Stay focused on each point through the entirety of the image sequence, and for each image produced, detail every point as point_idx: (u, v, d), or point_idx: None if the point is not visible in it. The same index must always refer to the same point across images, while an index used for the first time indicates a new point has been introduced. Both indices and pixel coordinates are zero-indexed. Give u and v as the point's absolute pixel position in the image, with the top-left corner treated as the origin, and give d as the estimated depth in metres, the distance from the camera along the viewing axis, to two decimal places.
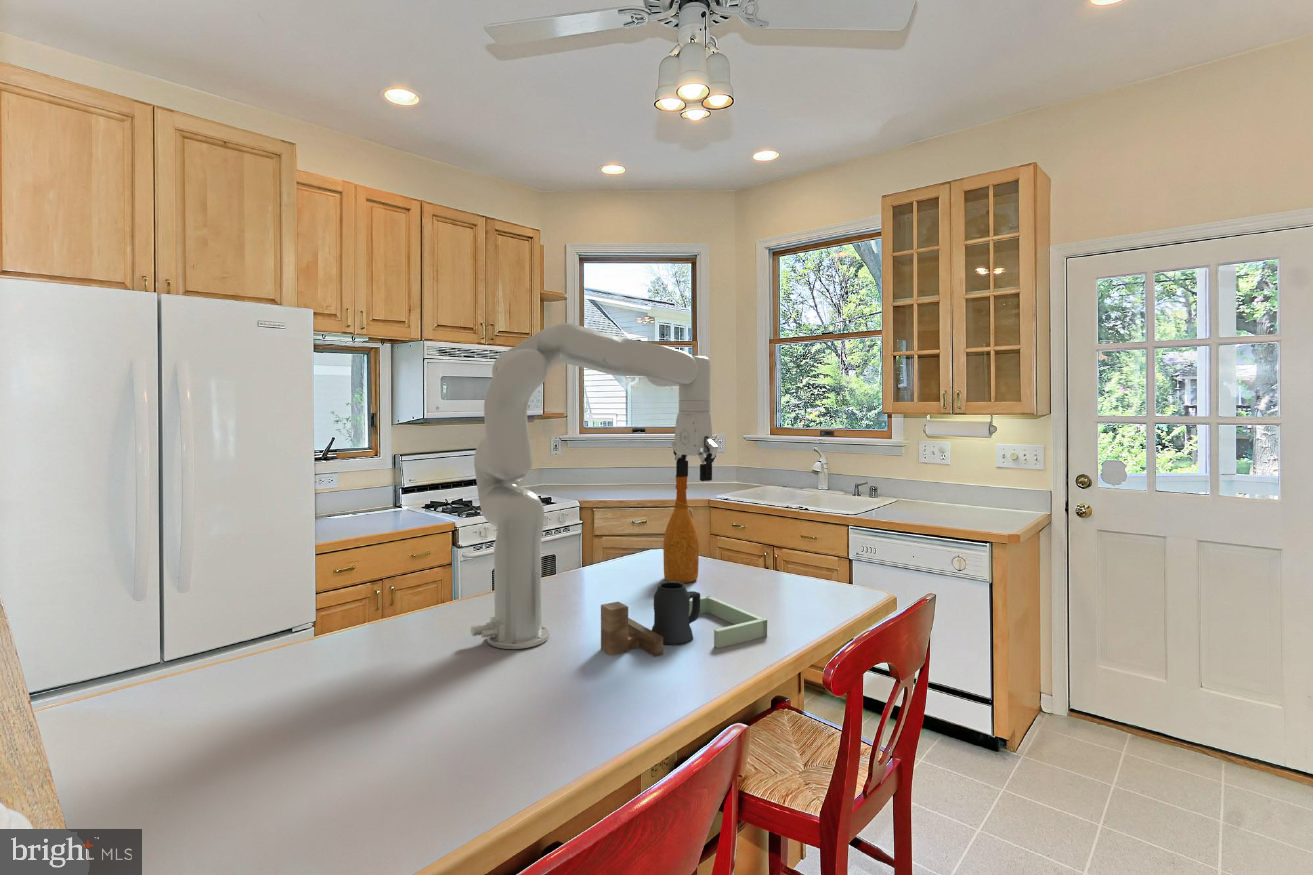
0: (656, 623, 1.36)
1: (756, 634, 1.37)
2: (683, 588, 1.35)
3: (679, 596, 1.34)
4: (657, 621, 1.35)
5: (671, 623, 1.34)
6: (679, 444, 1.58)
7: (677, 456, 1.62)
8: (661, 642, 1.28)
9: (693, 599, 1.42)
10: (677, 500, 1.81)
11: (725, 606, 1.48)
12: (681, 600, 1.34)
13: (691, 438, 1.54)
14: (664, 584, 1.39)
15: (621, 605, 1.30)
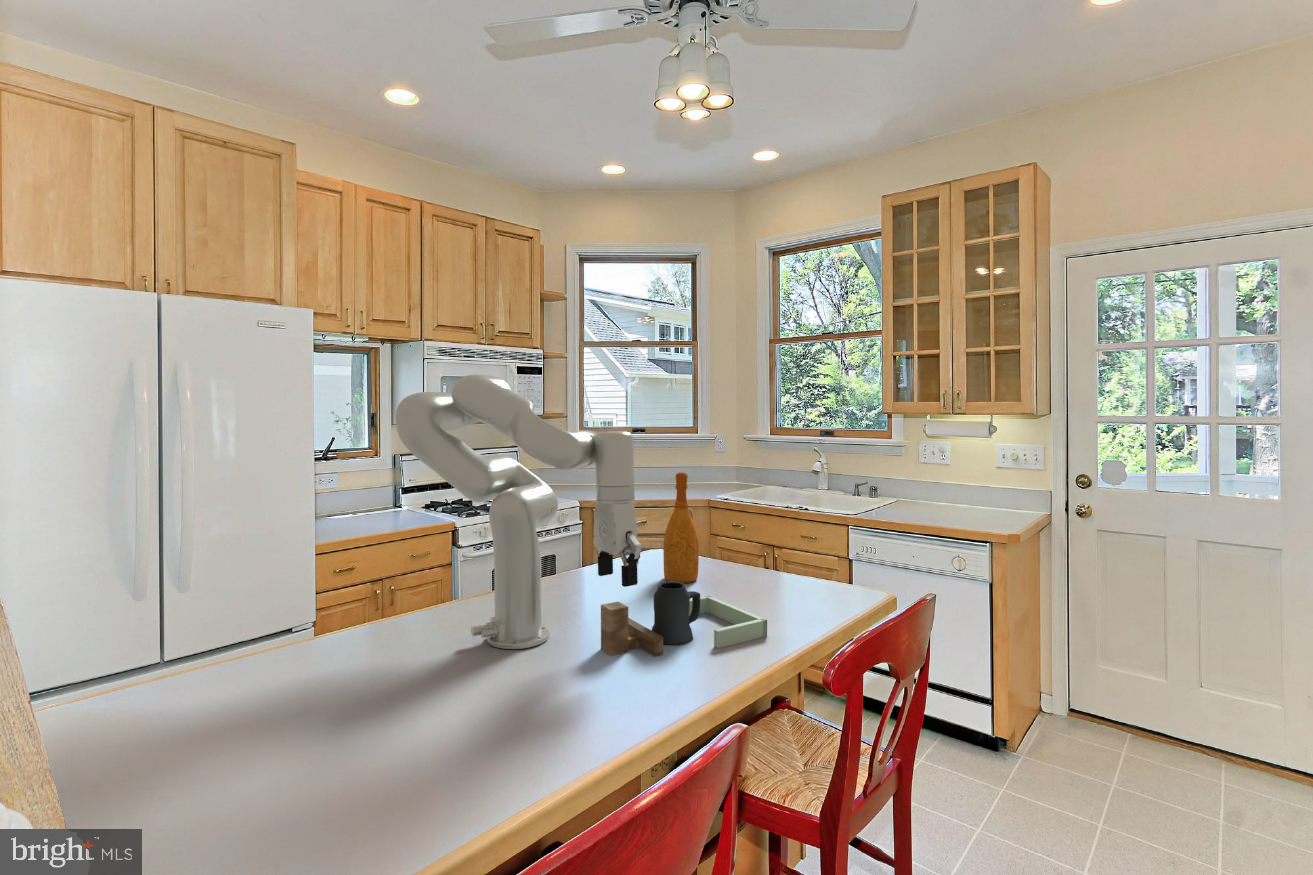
0: (656, 623, 1.36)
1: (756, 634, 1.37)
2: (683, 588, 1.35)
3: (679, 596, 1.34)
4: (657, 621, 1.35)
5: (671, 623, 1.34)
6: (598, 538, 1.29)
7: (598, 550, 1.33)
8: (661, 642, 1.28)
9: (693, 599, 1.42)
10: (677, 500, 1.81)
11: (725, 606, 1.48)
12: (681, 600, 1.34)
13: (610, 533, 1.25)
14: (664, 584, 1.39)
15: (621, 605, 1.30)
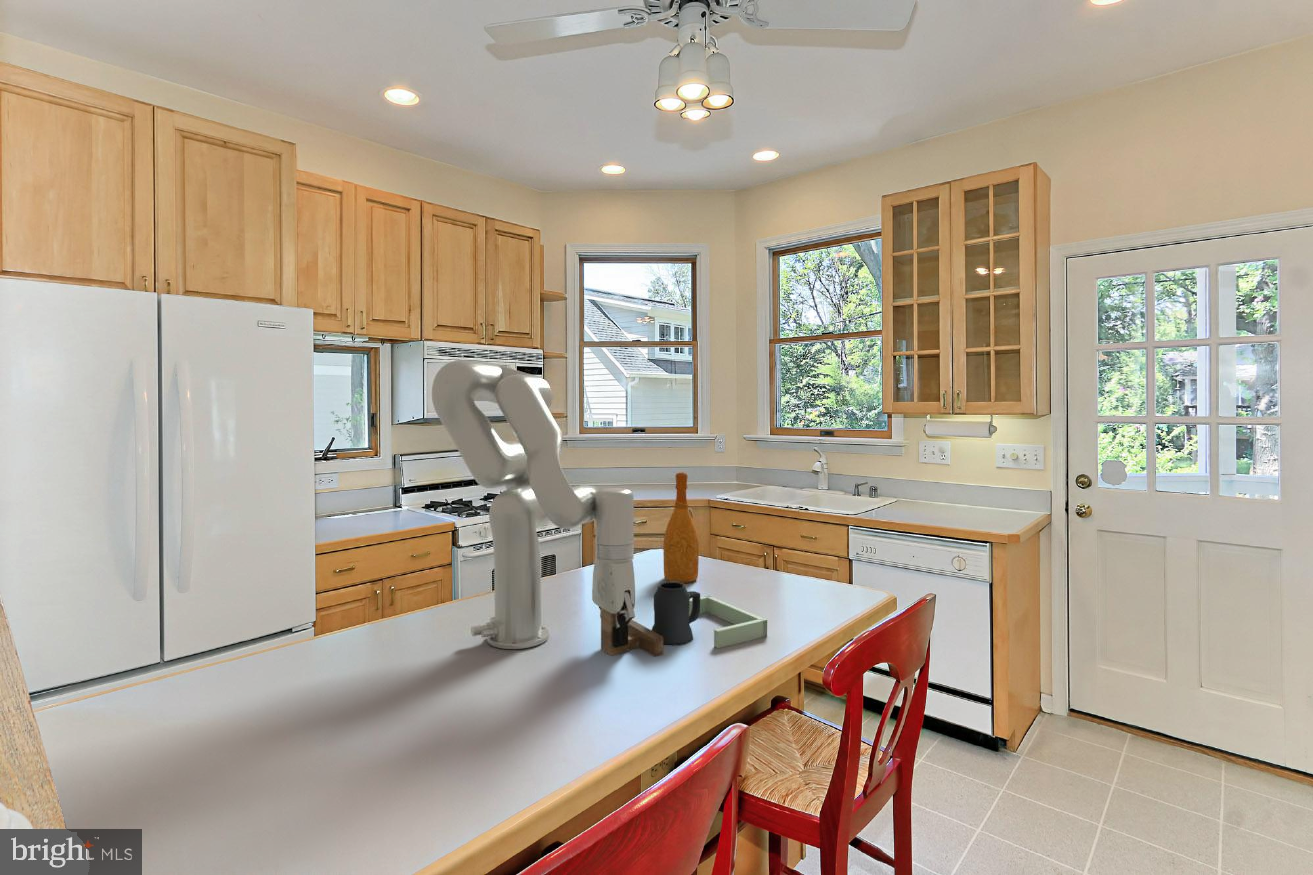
0: (656, 623, 1.36)
1: (756, 634, 1.37)
2: (683, 588, 1.35)
3: (679, 596, 1.34)
4: (657, 621, 1.35)
5: (671, 623, 1.34)
6: (597, 594, 1.30)
7: None
8: (661, 642, 1.28)
9: (693, 599, 1.42)
10: (677, 500, 1.81)
11: (725, 606, 1.48)
12: (681, 600, 1.34)
13: (609, 592, 1.26)
14: (664, 584, 1.39)
15: None
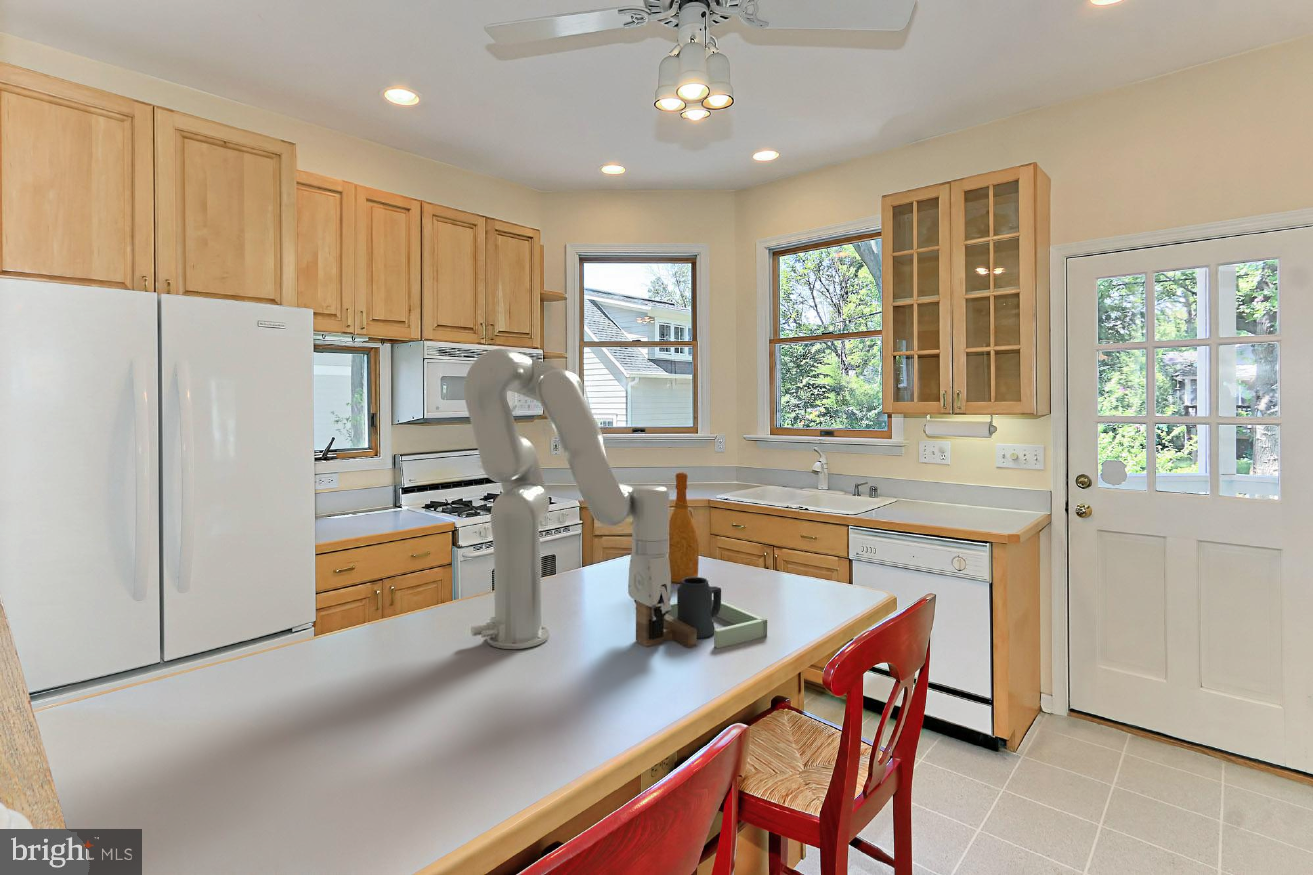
0: (680, 617, 1.39)
1: (756, 634, 1.37)
2: (706, 583, 1.39)
3: (703, 591, 1.37)
4: (681, 616, 1.39)
5: (695, 617, 1.37)
6: (633, 588, 1.35)
7: None
8: (695, 634, 1.32)
9: (714, 594, 1.45)
10: (677, 500, 1.81)
11: (725, 606, 1.48)
12: (705, 595, 1.37)
13: (645, 586, 1.30)
14: (687, 579, 1.42)
15: None
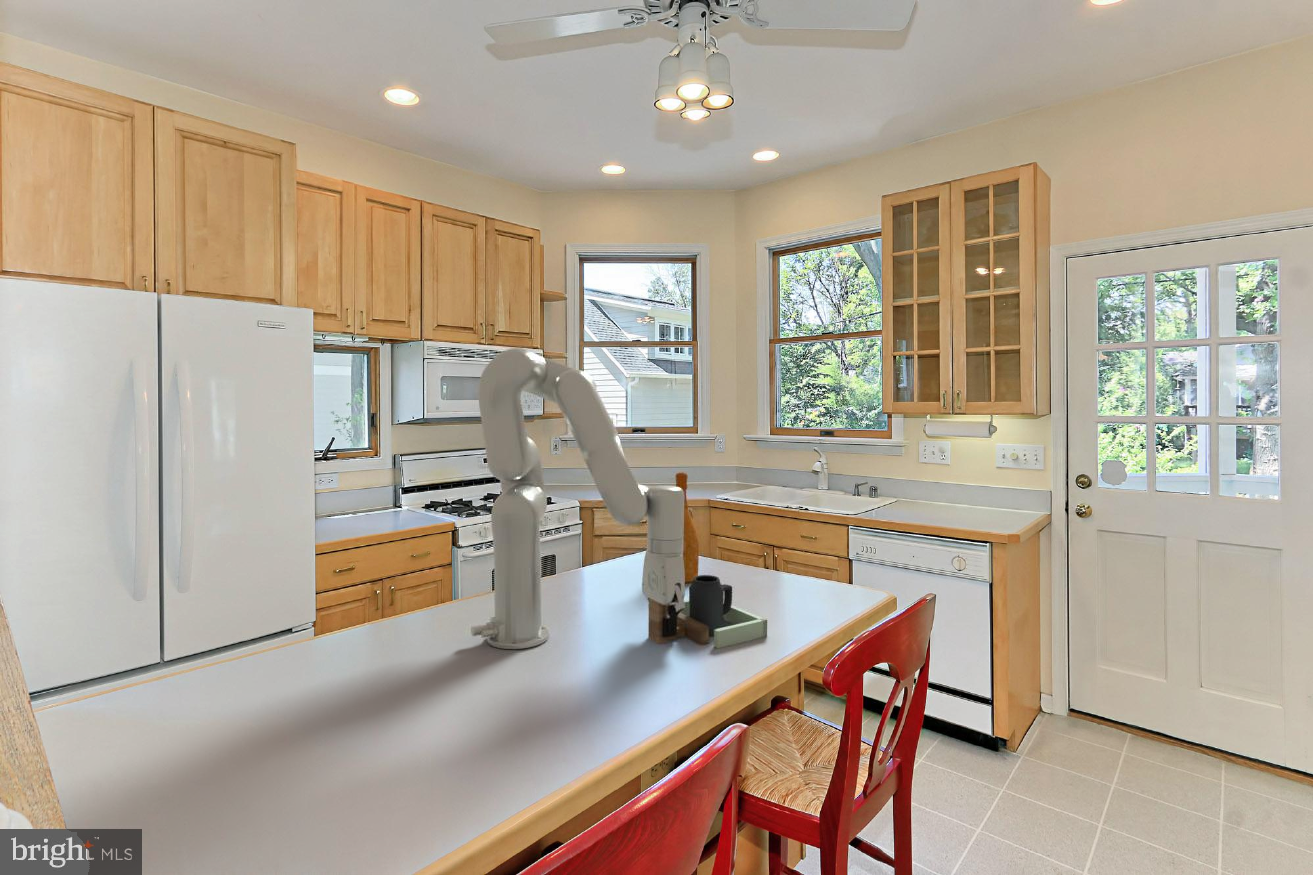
0: (692, 615, 1.41)
1: (756, 634, 1.37)
2: (718, 581, 1.41)
3: (715, 589, 1.39)
4: (693, 613, 1.40)
5: (707, 615, 1.39)
6: (647, 586, 1.36)
7: None
8: (707, 631, 1.34)
9: (725, 592, 1.47)
10: None
11: None
12: (717, 593, 1.39)
13: (660, 584, 1.32)
14: (698, 578, 1.44)
15: None
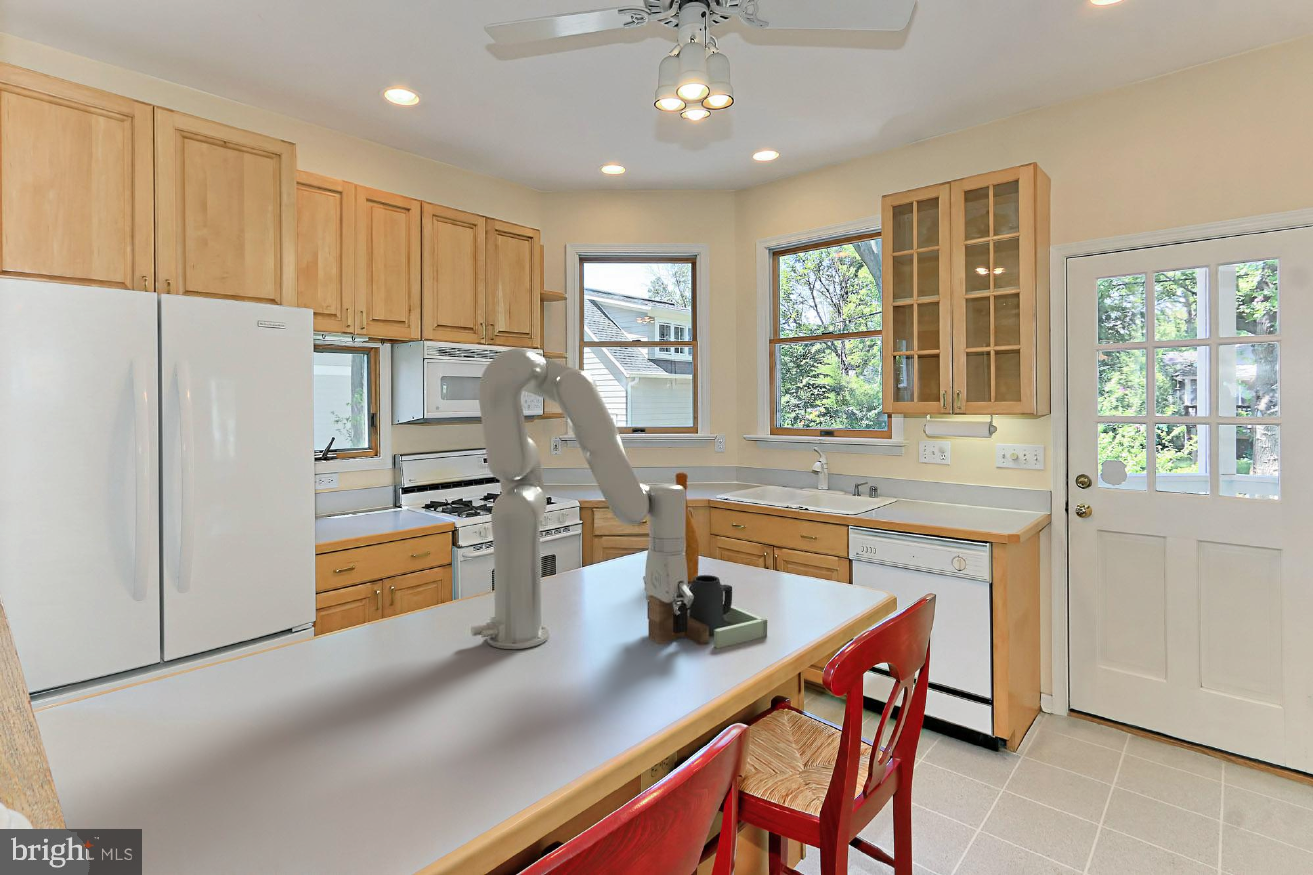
0: (692, 615, 1.41)
1: (756, 634, 1.37)
2: (718, 581, 1.41)
3: (714, 589, 1.39)
4: (693, 613, 1.40)
5: (707, 615, 1.39)
6: (650, 585, 1.37)
7: (648, 596, 1.40)
8: (707, 631, 1.34)
9: (725, 592, 1.47)
10: None
11: None
12: (716, 593, 1.39)
13: (663, 583, 1.33)
14: (698, 578, 1.44)
15: None
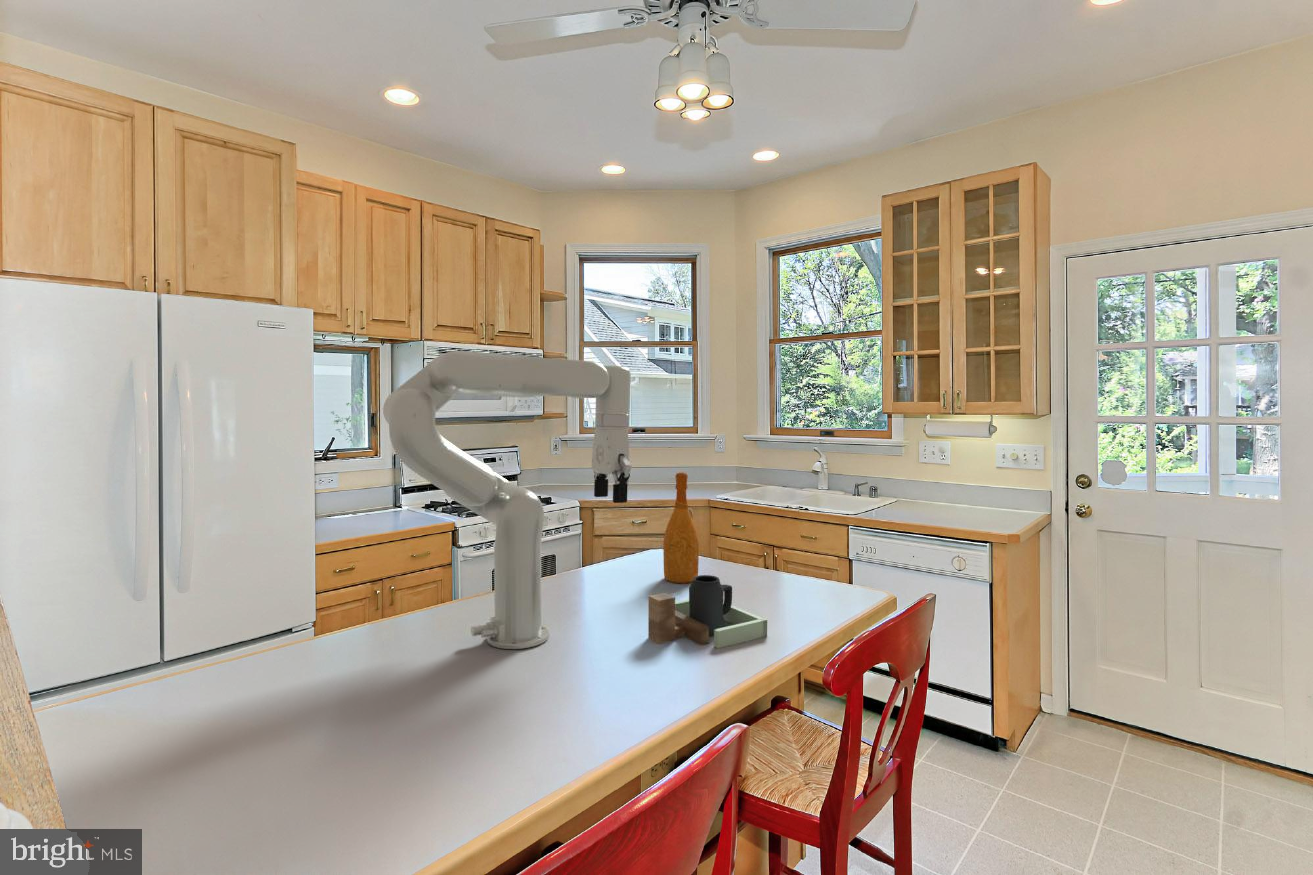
0: (692, 615, 1.41)
1: (756, 634, 1.37)
2: (718, 581, 1.41)
3: (714, 589, 1.39)
4: (693, 613, 1.40)
5: (707, 615, 1.39)
6: (595, 461, 1.45)
7: (595, 474, 1.48)
8: (707, 631, 1.34)
9: (725, 592, 1.47)
10: (677, 500, 1.81)
11: None
12: (716, 593, 1.39)
13: (605, 455, 1.41)
14: (698, 578, 1.44)
15: (668, 596, 1.36)
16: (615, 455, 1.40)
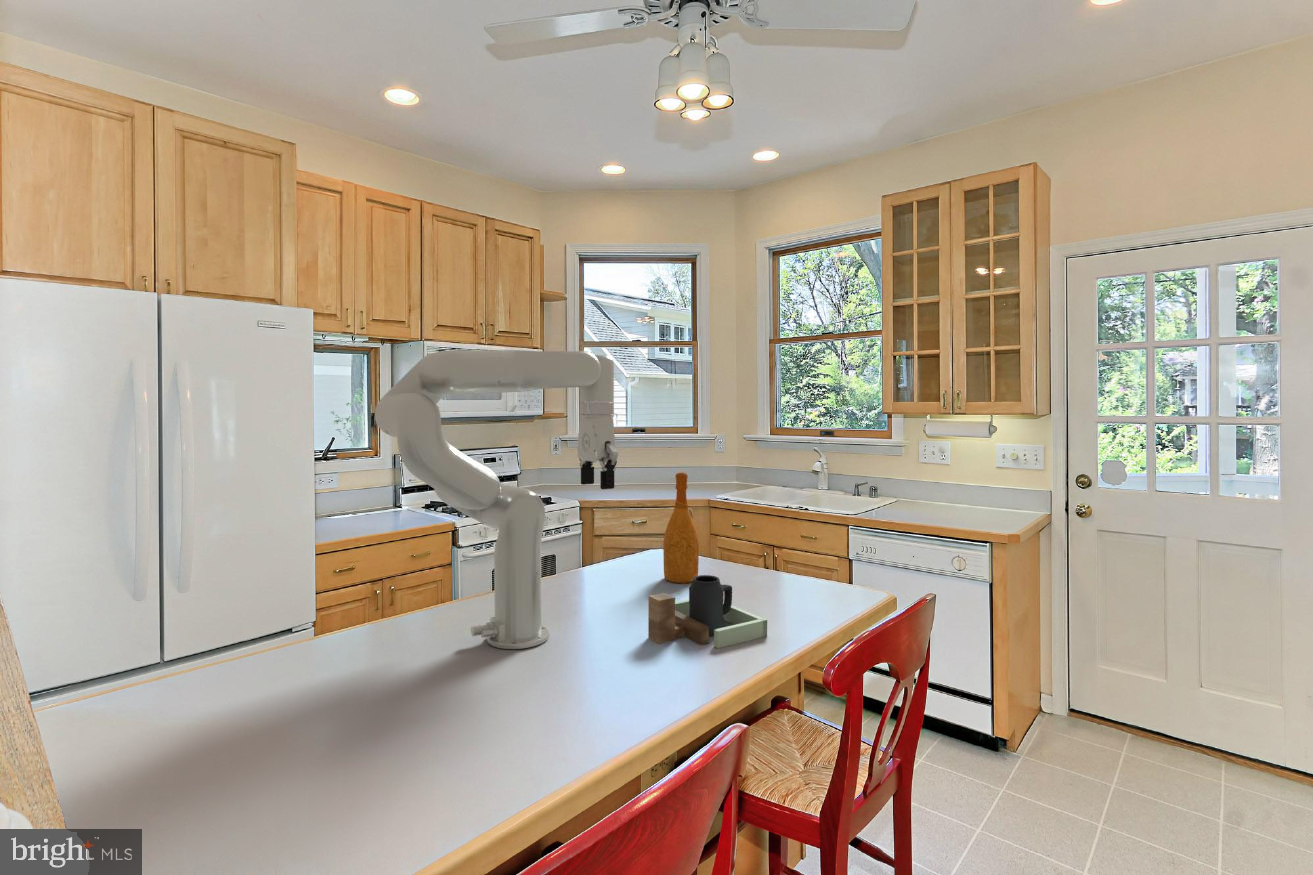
0: (692, 615, 1.41)
1: (756, 634, 1.37)
2: (718, 581, 1.41)
3: (714, 589, 1.39)
4: (693, 613, 1.40)
5: (707, 615, 1.39)
6: (581, 449, 1.48)
7: (581, 462, 1.51)
8: (707, 631, 1.34)
9: (725, 592, 1.47)
10: (677, 500, 1.81)
11: None
12: (716, 593, 1.39)
13: (591, 443, 1.44)
14: (698, 578, 1.44)
15: (668, 596, 1.36)
16: (601, 442, 1.42)
